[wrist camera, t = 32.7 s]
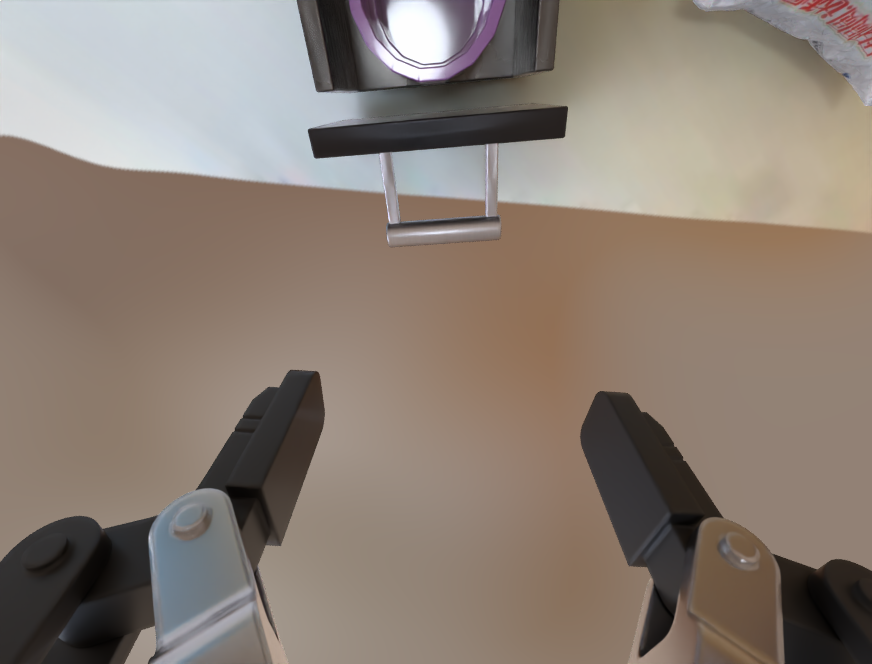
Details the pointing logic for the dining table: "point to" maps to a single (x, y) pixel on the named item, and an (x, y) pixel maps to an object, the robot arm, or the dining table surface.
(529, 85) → the dining table surface
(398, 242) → the drawer
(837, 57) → the packaged food
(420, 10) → the cup
